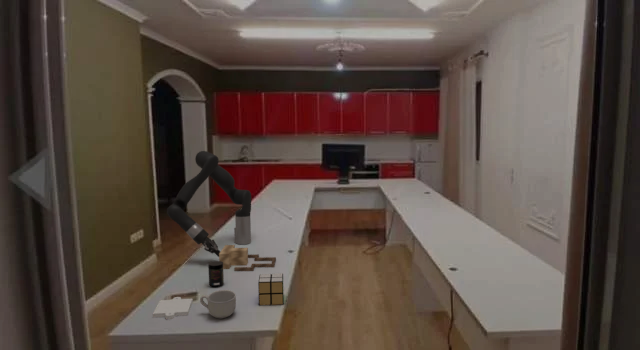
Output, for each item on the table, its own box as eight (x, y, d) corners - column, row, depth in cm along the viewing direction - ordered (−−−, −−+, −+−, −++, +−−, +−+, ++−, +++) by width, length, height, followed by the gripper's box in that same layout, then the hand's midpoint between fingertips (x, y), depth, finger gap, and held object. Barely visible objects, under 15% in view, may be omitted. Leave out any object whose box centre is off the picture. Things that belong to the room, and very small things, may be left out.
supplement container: (222, 281, 203) (221, 260, 202) (225, 286, 197) (224, 264, 196) (207, 284, 201) (207, 262, 200) (210, 289, 195) (209, 266, 193)
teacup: (241, 311, 171) (241, 291, 170) (226, 323, 161) (226, 302, 160) (211, 306, 176) (210, 287, 175) (195, 317, 166) (194, 297, 165)
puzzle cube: (260, 296, 186) (259, 273, 185) (283, 295, 187) (283, 273, 186) (258, 305, 176) (258, 282, 175) (283, 305, 177) (283, 281, 176)
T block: (219, 269, 221) (219, 253, 220) (225, 259, 237) (225, 245, 236) (245, 268, 222) (244, 253, 221) (249, 259, 237) (249, 244, 236)
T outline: (234, 271, 218) (234, 268, 218) (241, 257, 241) (241, 254, 241) (273, 270, 219) (273, 267, 218) (276, 256, 241) (276, 254, 241)
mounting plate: (161, 302, 181) (161, 297, 181) (193, 300, 183) (193, 296, 183) (151, 321, 163) (151, 316, 163) (187, 319, 165) (186, 314, 165)
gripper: (199, 231, 221) (223, 255, 222) (205, 225, 234) (228, 247, 235) (188, 241, 221) (213, 265, 223) (196, 235, 234) (219, 257, 236)
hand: (221, 256), depth 229 cm, fingers closed
